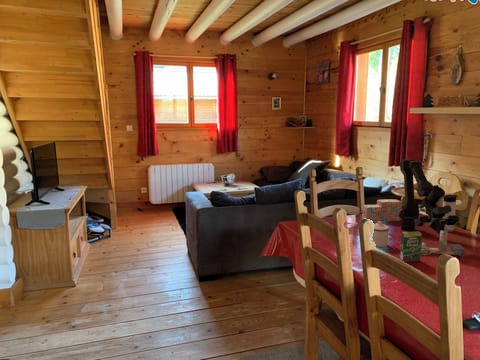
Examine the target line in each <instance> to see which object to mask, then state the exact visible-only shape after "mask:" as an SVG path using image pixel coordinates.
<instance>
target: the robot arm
mask: <svg viewBox="0 0 480 360" xmlns="http://www.w3.org/2000/svg"><path fill="white" fill-rule="evenodd" d="M398 165H399V170H400V172H401V174H402V175H403V183H404V184H403V185H404V186H403V187H404V202H403V204H401V211H400V213H399V217H400V220H401V226H400V230H404V231H409V232H415V231H414V230H415V229H416V227H423V226H424V225H425V224H427V223H428V224H429V225H428V228H430V229H432V230H433V231H435V232H436V233H437V234H438V235H439V236H440V231H441V230H444V229H445V225H454V226H455V225H456V224H457V223H458V222H459V221H460V216H459V215H458V214H455V215H449V216H448V217H447V218H443V217H444V216H445V214H448V212H451V211H452V210H451V207H450V205H446V206H444V207H443V206H439V205H438V203H440V202H441V200H443V198H444V196H445V195H446V191H445V190H444V189H443V188H442V187H440V186H439V185H436V184H434V185H433V184H432V183H431V182H430V181H429V180H428V179H427V176H426V174H425V172H424V170H423V168H422V163H421V161H419V160H415V159H401V160H400V162H399V163H398ZM414 180H415V182H416V184H417V187H416V194H417V195H418V196H419V198H420V197H421V198H423V199H422V200H421V205H422V206H423V205H424V208H425V215H420V210H419V207H420V206H419V204H418V203H417V202H416V199H415V183H414Z"/></svg>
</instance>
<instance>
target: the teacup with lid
mask: <svg viewBox="0 0 480 360" xmlns="http://www.w3.org/2000/svg"><path fill="white" fill-rule="evenodd" d="M373 224H374V233H373V237H372V238H373V241H374V242H375V244H376V246H375V247H377V248H384V247H387V246H388V245H389V244H388V243H389V230H390V227H389V226H388V225H385V224H384V223H383V222H380V221H378V222H375V223H373Z"/></svg>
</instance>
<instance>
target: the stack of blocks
mask: <svg viewBox="0 0 480 360" xmlns="http://www.w3.org/2000/svg"><path fill="white" fill-rule="evenodd" d="M401 210H402V201H401V200H398V199H391V198H390V199H388V198H387V199H377V201H376V204H363V205H362V213H361V215H362V216H361V219H362V218H366V219H370V220H372V221H373V222H372V223H378V221H380V222H382V223H383V222H401V218H400V217H399V213H400V211H401Z"/></svg>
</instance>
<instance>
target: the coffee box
mask: <svg viewBox="0 0 480 360" xmlns="http://www.w3.org/2000/svg"><path fill="white" fill-rule="evenodd" d="M400 234H401V236H400V237H401V238H400V255H399V258H400V261H402V262H403V261H404V262H406V263H407V262H421V255H420V253H421V246H422V234H423V233H421V231H402V232H401V233H400Z"/></svg>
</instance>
